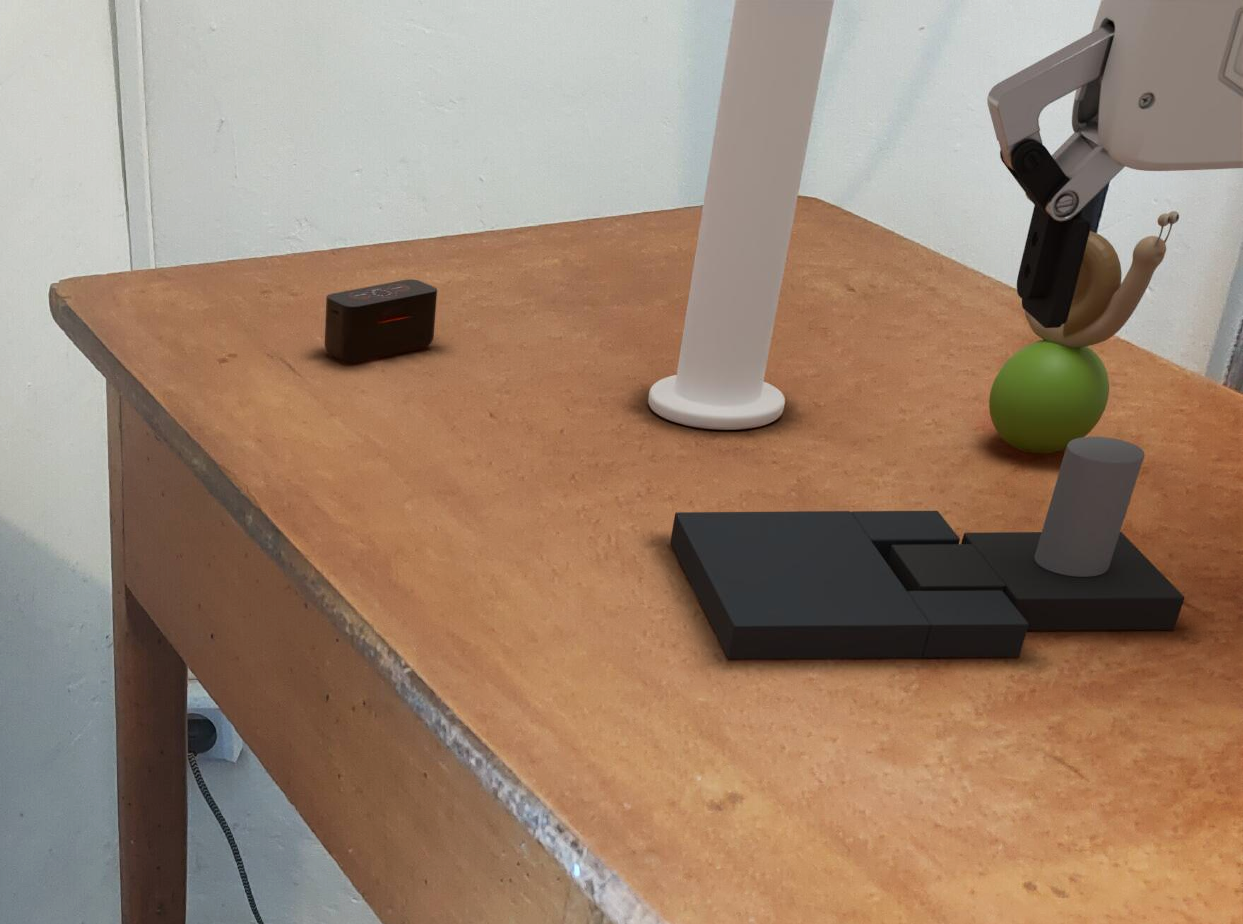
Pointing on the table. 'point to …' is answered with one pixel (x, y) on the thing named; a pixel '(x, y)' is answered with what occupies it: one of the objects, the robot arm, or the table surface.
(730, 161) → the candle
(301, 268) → the table surface
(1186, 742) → the table surface
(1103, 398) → the snail figurine
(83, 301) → the table surface
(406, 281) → the black bluetooth speaker
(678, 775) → the table surface
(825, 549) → the dock pad
